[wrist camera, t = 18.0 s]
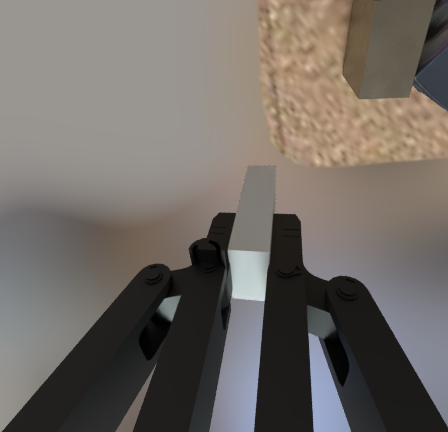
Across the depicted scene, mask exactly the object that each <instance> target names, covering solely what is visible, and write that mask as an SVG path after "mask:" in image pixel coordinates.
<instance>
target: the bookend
mask: <svg viewBox="0 0 448 432" xmlns="http://www.w3.org/2000/svg"><path fill="white" fill-rule="evenodd" d="M435 2H436V0H353V4H352V11H351V18H350V25H349V32H348V39H347V46H346V53H345V60H344V68H343V76H344V78H345V79H346V81H347V82H348V84H349V85H350V87H351V88H352V90H353V91H354V93H355V94H356V96H357V97H358V99H378V98H404V97H409V95H410V92H411V88H412V85H413V81H414V77H415V74H416V70H417V67H418V63H419V59H420V56H421V52H422V49H423V45H424V41H425V38H426V34H427V31H428V27H429V23H430V20H431V16H432V13H433V9H434V5H435Z"/></svg>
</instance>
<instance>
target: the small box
mask: <svg viewBox="0 0 448 432" xmlns="http://www.w3.org/2000/svg"><path fill="white" fill-rule="evenodd" d="M413 86H414V87H415V88H416V89H417V90H418V91H419V92H422V93H423V94H425V95H426V96H427V97H429V98H430V99H432V100H433V101H434V102H436V103H437V104H438V105H439V106H441V107H442V108H443V109H445V110H446V111H447V112H448V0H439V1H438V2H437V3H436V4H435V5H434V9H433V13H432V16H431V20H430V23H429V27H428V31H427V34H426V38H425V41H424V45H423V49H422V52H421V56H420V59H419V63H418V67H417V70H416V74H415V77H414V81H413Z"/></svg>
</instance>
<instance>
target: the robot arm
mask: <svg viewBox="0 0 448 432" xmlns="http://www.w3.org/2000/svg"><path fill="white" fill-rule="evenodd" d="M275 197H276V166H248V167H247V171H246V175H245V179H244V184H243V188H242V192H241V196H240V200H239V204H238V208H237V213H218V215H217V216H215V217H214V218H213V220H212V224H211V227H210V230H209V233H208V235H207V238H202V239H200V240H197V241H195V242H194V243H193V244H192V245H191V246H190V247H189V253H190V258H191V262H192V265H191V266H189V267H187V268H183V269H179V270H174V271H170V269H169V268H168V267H167V266H165V265H163V264H152V265H149V266H147V267H145V268H143V269H142V270H141V271H140V272H139V273H138V274H137V275H136V276H135V277H134V279H133V280H132V281H131V282H130V283H129V284H128V286H127V287H126V288H125V289H124V290H123V291H122V292H121V294H120V295H119V296H118V297H117V298H116V299H115V301H114V302H113V303H112V304H111V305H110V307H109V308H108V309H107V310H106V311H105V312H104V313H103V315H102V316H101V317H100V318H99V320H97V322H96V323H95V324H94V325H93V326H92V327H91V329H90V330H89V331H88V332H87V333H86V334H85V336H84V337H83V338H82V339H81V340H80V341H79V343H78V344H77V345H76V346H75V347H74V348H73V350H72V351H71V352H70V353H69V354H68V355H67V356H66V358H65V359H64V360H63V361H62V362H61V364H60V365H59V366H58V367H57V368H56V369H55V371H54V372H53V373H52V374H51V375H50V376H49V377H48V379H47V380H46V381H45V382H44V383H43V384H42V386H41V387H40V388H39V389H38V390H37V391H36V393H35V394H34V395H33V396H32V397H31V398H30V400H29V401H28V402H27V403H26V404H25V406H24V407H23V408H22V409H21V410H20V411H19V413H18V414H17V415H16V416H15V417H14V418H13V419H12V421H11V422H10V423H9V424H8V425H7V426H6V428H5V429H4V430H3V431H2V432H115V431H116V430H117V428H118V426H119V425H120V423H121V421H122V419H123V418H124V416H125V415H126V413H127V411H128V410H129V408H130V406H131V405H132V403H133V401H134V400H135V398H136V397H137V395H138V393H139V391H140V390H141V388H142V386H143V385H144V383H145V382H146V380H147V378H148V377H149V375H150V373H151V372H152V370H153V368H154V367H155V365H156V364H157V365H156V368H155V370H154V373H153V376H152V379H151V381H150V384H149V387H148V390H147V393H146V396H145V398H144V401H143V404H142V407H141V410H140V413H139V415H138V418H137V421H136V424H135V427H134V429H133V432H209V429H210V423H211V418H212V413H213V407H214V401H215V396H216V390H217V385H218V379H219V374H220V368H221V363H222V357H223V352H224V346H225V340H226V334H227V329H228V324H229V318H230V313H231V303H230V300H231V294H232V296H233V298H237V299H248V300H259V301H265V305H264V317H263V329H262V342H261V355H260V367H259V378H258V390H257V403H256V416H255V428H254V432H314V431H313V412H312V394H311V376H310V359H309V358H310V357H309V338H308V332H309V333H311V334H313V335H316V336H318V337H319V340H320V343H321V346H322V349H323V352H324V355H325V358H326V360H327V363H328V366H329V369H330V372H331V375H332V377H333V380H334V383H335V386H336V389H337V392H338V395H339V398H340V401H341V403H342V406H343V409H344V412H345V415H346V418H347V420H348V423H349V426H350V429H351V432H448V427H447V425H446V423H445V422H444V420H443V418H442V417H441V415H440V413H439V412H438V410H437V408H436V406H435V405H434V403H433V401H432V400H431V398H430V396H429V394H428V393H427V391H426V389H425V387H424V386H423V384H422V382H421V380H420V379H419V377H418V375H417V373H416V372H415V370H414V368H413V367H412V365H411V363H410V361H409V360H408V358H407V356H406V355H405V353H404V351H403V349H402V348H401V346H400V344H399V343H398V341H397V339H396V338H395V336H394V334H393V332H392V330H391V329H390V327H389V325H388V324H387V322H386V320H385V318H384V317H383V315H382V313H381V311H380V310H379V308H378V306H377V305H376V303H375V301H374V299H373V298H372V296H371V294H370V293H369V291H368V289H367V288H366V287H365V286H364V284H363V283H361V282H360V281H358V280H357V279H355V278H351V277H348V276H338V277H334V278H332V279H331V280H330V281H326V280H323V279H320V278H318V277H315V276H314V275H312V274H311V273H309V272H308V271H307V270H306V268H305V267H304V265H303V257H302V239H301V222H300V220H299V219H298V217H297V216H296V215H295V214H275Z"/></svg>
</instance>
